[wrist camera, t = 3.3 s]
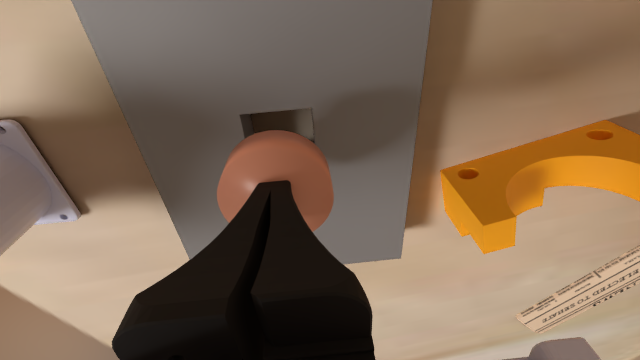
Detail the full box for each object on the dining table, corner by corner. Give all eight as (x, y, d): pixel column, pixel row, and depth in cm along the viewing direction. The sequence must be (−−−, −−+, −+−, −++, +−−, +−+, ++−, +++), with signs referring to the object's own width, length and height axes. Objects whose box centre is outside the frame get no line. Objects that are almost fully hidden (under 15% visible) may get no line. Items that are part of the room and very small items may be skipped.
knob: (245, 190, 18) (232, 246, 14) (225, 111, 15) (202, 155, 12) (327, 182, 18) (335, 236, 14) (321, 103, 15) (331, 143, 12)
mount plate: (208, 250, 26) (198, 278, 23) (74, -86, 14) (25, -101, 11) (390, 231, 26) (400, 258, 24) (421, -112, 14) (449, -132, 11)
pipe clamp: (444, 209, 26) (484, 270, 20) (439, 169, 23) (483, 226, 18) (592, 166, 24) (678, 220, 19) (603, 118, 22) (704, 164, 16)
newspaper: (742, 176, 27) (769, 188, 25) (759, 211, 29) (784, 224, 28) (511, 310, 36) (520, 324, 35) (540, 327, 39) (550, 340, 37)
